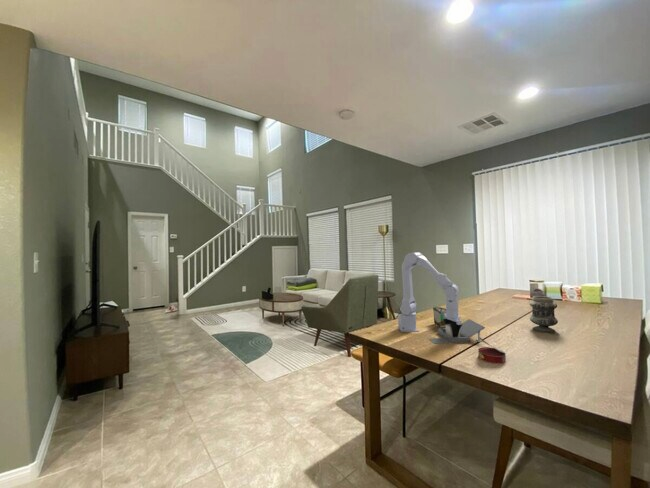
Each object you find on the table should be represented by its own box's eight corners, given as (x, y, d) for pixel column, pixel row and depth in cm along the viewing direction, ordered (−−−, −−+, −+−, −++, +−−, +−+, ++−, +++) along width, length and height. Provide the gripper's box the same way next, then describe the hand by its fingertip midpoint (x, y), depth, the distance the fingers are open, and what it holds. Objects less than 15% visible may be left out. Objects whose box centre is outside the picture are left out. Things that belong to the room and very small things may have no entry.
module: (450, 339, 139) (449, 326, 139) (445, 336, 144) (445, 323, 144) (460, 339, 139) (459, 326, 139) (455, 335, 144) (455, 323, 144)
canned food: (481, 364, 121) (480, 341, 125) (508, 368, 115) (506, 343, 119) (474, 360, 114) (474, 335, 118) (503, 363, 107) (501, 337, 112)
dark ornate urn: (547, 326, 155) (547, 294, 155) (564, 333, 143) (563, 299, 143) (524, 326, 157) (524, 295, 156) (539, 333, 145) (538, 299, 144)
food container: (452, 329, 155) (452, 311, 155) (441, 329, 155) (441, 311, 155) (443, 322, 167) (443, 306, 167) (433, 323, 168) (432, 306, 167)
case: (450, 343, 134) (450, 328, 134) (438, 333, 148) (437, 319, 148) (485, 342, 134) (485, 327, 134) (469, 332, 149) (469, 319, 149)
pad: (434, 344, 134) (434, 343, 134) (428, 339, 141) (428, 338, 141) (449, 343, 134) (448, 343, 134) (442, 338, 141) (442, 338, 141)
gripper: (467, 311, 134) (468, 339, 134) (453, 304, 149) (453, 330, 149) (453, 312, 134) (453, 339, 134) (440, 305, 148) (440, 330, 149)
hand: (452, 334), depth 141 cm, fingers closed on module, 5 cm apart
